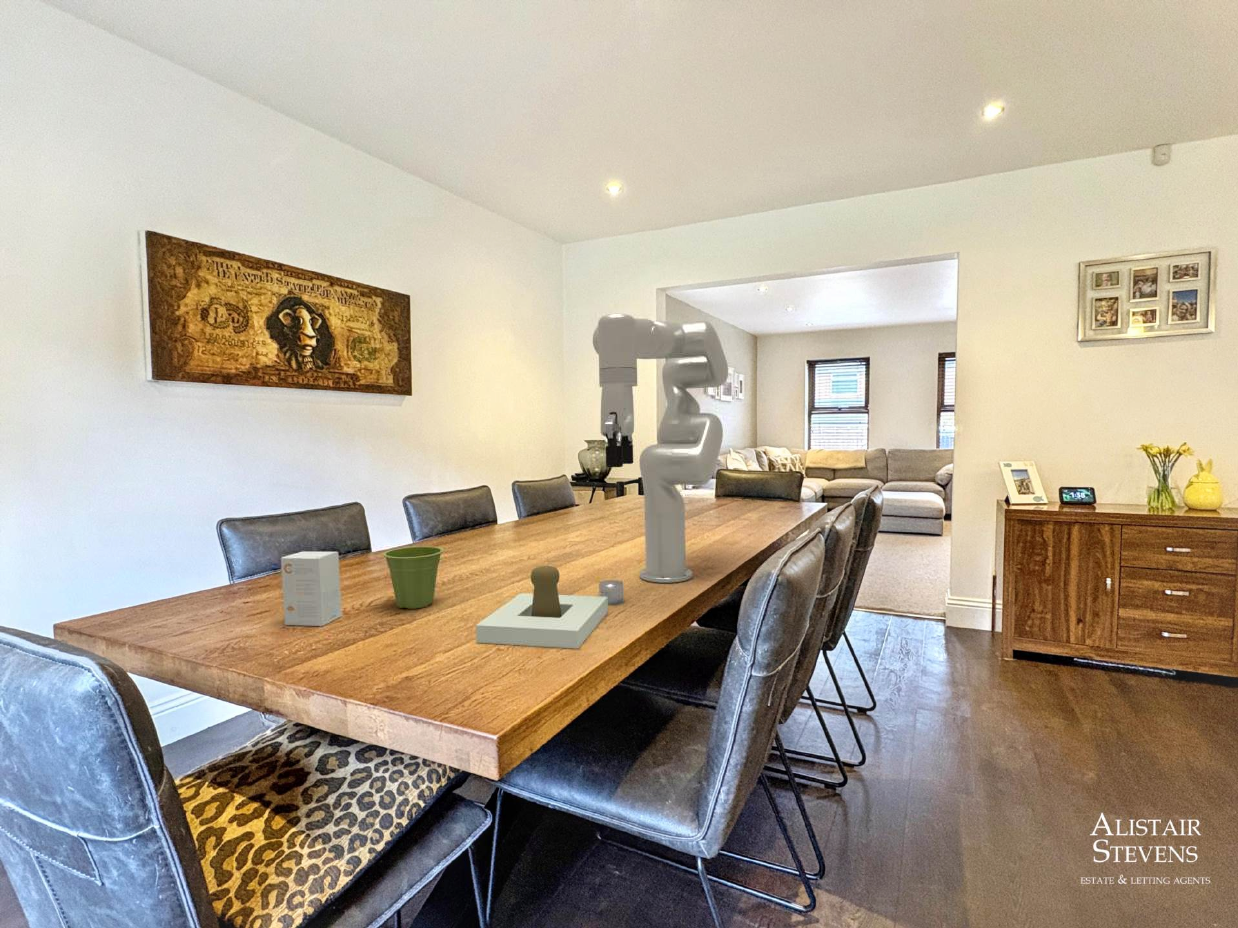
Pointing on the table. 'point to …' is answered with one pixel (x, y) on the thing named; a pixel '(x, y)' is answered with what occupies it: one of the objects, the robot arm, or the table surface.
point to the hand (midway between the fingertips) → (620, 465)
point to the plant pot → (413, 574)
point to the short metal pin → (612, 591)
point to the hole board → (543, 622)
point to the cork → (545, 592)
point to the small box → (311, 588)
